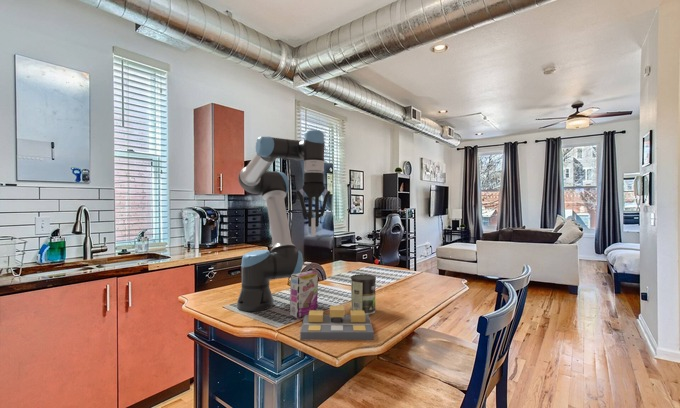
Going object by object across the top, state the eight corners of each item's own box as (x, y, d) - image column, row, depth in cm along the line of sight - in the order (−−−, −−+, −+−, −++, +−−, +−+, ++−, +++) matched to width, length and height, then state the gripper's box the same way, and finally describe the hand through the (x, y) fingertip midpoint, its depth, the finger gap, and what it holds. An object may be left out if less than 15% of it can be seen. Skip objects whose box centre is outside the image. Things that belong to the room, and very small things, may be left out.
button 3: (351, 328, 111) (351, 315, 111) (350, 323, 116) (350, 310, 116) (365, 328, 111) (365, 315, 111) (364, 323, 116) (364, 310, 116)
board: (300, 339, 103) (300, 331, 103) (304, 321, 119) (304, 314, 119) (373, 339, 103) (373, 331, 103) (368, 321, 119) (368, 314, 119)
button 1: (308, 328, 111) (308, 315, 111) (309, 323, 116) (309, 310, 116) (322, 328, 111) (322, 315, 111) (323, 323, 116) (323, 310, 116)
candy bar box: (298, 319, 121) (298, 276, 121) (289, 316, 124) (289, 274, 124) (318, 311, 130) (318, 271, 130) (309, 309, 133) (309, 270, 133)
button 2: (329, 323, 111) (329, 310, 111) (330, 318, 116) (330, 305, 116) (344, 323, 111) (344, 310, 111) (343, 318, 116) (343, 305, 116)
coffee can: (376, 307, 135) (376, 274, 135) (374, 316, 125) (374, 280, 125) (352, 305, 138) (353, 273, 137) (348, 314, 127) (348, 279, 127)
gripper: (295, 171, 115) (294, 236, 115) (331, 171, 115) (330, 236, 115) (297, 173, 123) (297, 234, 123) (331, 173, 123) (330, 234, 123)
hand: (313, 235), depth 119 cm, fingers closed
